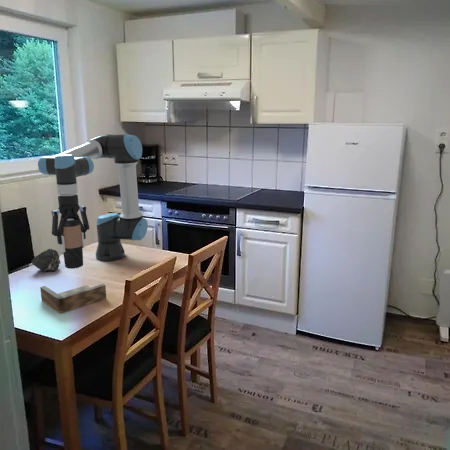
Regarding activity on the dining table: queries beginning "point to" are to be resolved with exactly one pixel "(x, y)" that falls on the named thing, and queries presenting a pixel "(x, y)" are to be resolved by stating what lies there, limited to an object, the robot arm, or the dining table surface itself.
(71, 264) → the travel mug
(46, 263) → the rock
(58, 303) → the wooden l-shaped block
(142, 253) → the dining table surface
